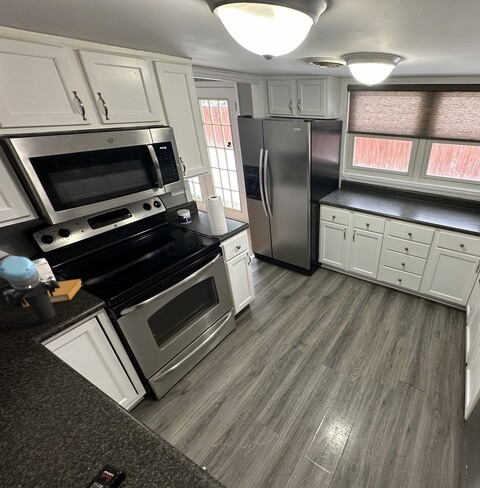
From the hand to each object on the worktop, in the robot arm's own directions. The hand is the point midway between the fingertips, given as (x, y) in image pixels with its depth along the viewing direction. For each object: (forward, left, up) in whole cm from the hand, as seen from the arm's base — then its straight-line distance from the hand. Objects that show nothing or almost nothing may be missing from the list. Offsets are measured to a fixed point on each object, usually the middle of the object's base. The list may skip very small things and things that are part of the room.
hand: (38, 297), depth 114 cm
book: (-6, +20, -11) cm, 24 cm away
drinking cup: (+2, -3, -9) cm, 9 cm away
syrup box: (-13, +32, -12) cm, 37 cm away
